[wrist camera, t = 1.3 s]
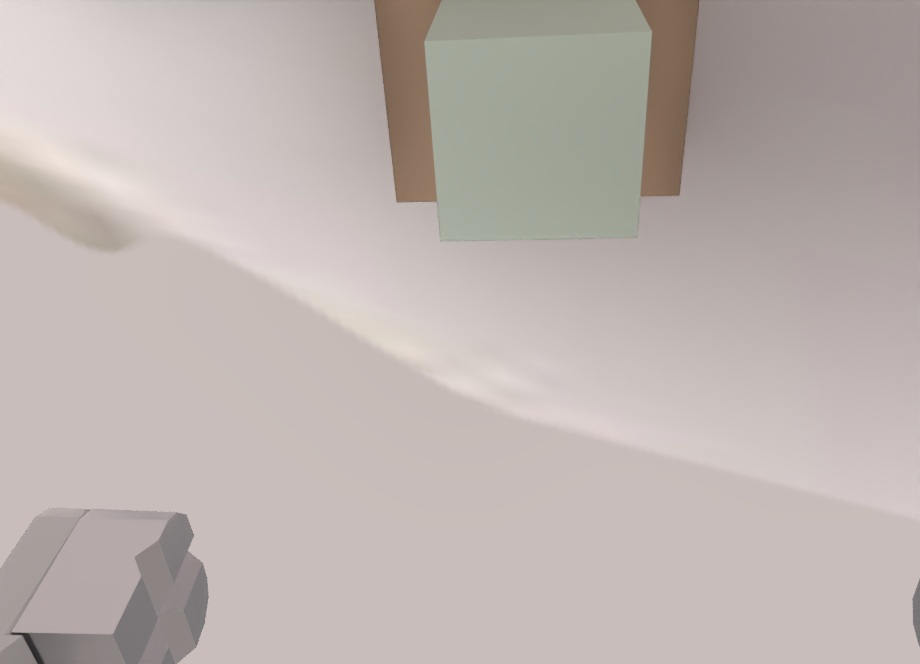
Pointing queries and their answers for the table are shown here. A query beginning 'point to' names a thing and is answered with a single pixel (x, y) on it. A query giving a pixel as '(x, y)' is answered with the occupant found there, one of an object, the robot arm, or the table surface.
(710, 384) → the table surface
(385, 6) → the walnut stand
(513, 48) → the plug block
